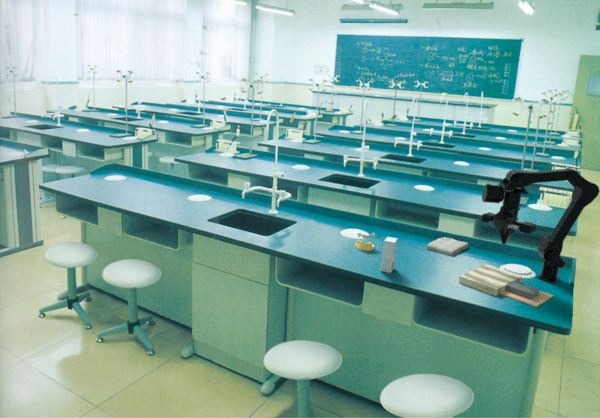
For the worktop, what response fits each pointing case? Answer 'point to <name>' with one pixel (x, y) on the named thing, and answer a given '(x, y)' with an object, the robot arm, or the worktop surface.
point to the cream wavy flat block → (489, 279)
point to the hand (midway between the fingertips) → (503, 244)
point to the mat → (534, 302)
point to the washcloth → (447, 246)
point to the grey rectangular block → (522, 290)
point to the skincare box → (388, 254)
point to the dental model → (365, 246)
